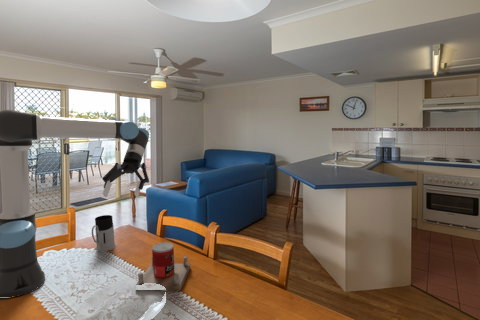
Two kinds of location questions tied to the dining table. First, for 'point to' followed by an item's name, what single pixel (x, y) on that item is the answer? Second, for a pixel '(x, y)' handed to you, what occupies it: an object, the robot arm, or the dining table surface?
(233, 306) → the dining table surface
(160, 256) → the canned food
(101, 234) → the grey mug
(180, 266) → the peg board
